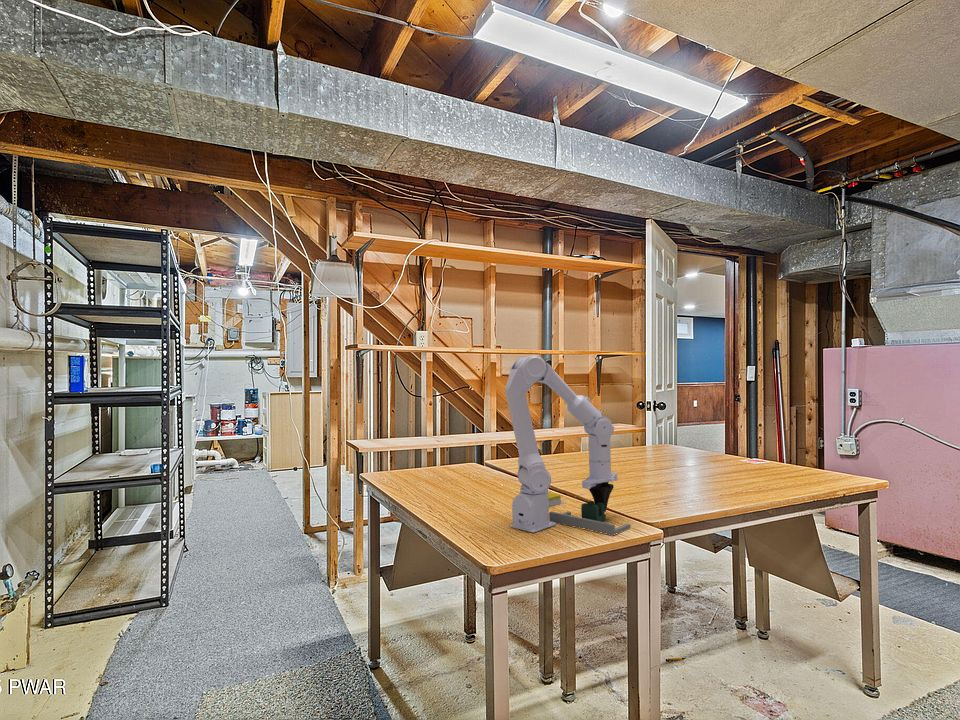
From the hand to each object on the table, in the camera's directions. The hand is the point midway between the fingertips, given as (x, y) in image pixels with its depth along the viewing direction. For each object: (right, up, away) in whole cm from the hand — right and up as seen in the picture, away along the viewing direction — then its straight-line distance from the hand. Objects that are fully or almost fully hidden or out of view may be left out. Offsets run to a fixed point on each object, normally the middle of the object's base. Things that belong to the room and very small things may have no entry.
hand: (601, 511), depth 137 cm
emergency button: (-15, -4, +18) cm, 23 cm away
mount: (-3, -2, -2) cm, 4 cm away
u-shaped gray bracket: (-4, -2, -4) cm, 7 cm away
